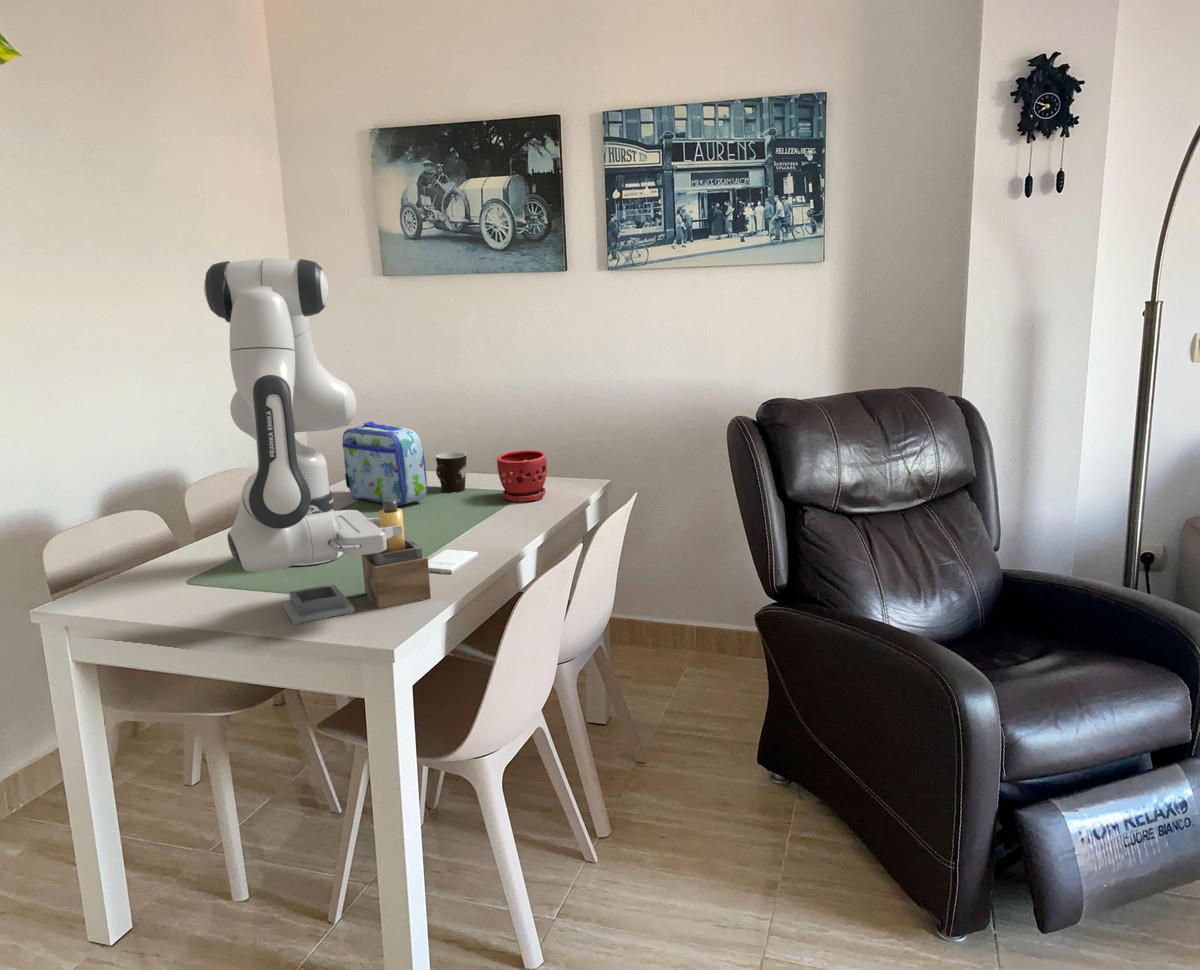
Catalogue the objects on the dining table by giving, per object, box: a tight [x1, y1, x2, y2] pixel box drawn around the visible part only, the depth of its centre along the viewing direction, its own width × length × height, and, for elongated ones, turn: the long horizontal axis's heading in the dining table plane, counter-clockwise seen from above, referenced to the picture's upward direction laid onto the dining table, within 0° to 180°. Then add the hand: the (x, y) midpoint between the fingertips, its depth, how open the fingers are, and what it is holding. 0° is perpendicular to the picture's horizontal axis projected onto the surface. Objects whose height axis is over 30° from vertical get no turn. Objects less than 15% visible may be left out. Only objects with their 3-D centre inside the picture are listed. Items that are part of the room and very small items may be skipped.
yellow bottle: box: [378, 499, 406, 553], centre depth 184 cm, size 4×4×11 cm
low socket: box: [281, 583, 356, 625], centre depth 181 cm, size 11×11×3 cm
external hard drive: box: [428, 548, 479, 574], centre depth 206 cm, size 2×8×12 cm
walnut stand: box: [361, 537, 432, 609], centre depth 186 cm, size 10×10×10 cm
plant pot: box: [496, 449, 548, 503], centre depth 259 cm, size 13×13×12 cm
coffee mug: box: [435, 451, 468, 494], centre depth 270 cm, size 12×9×10 cm
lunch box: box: [342, 421, 428, 507], centre depth 260 cm, size 26×11×21 cm, turn 49°
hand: (396, 525), depth 184 cm, fingers closed on yellow bottle, 4 cm apart
